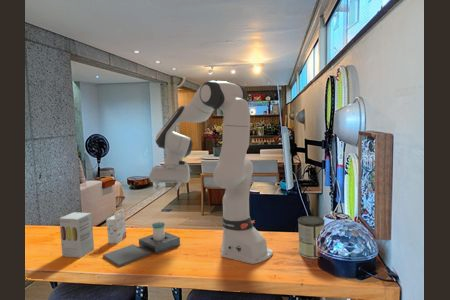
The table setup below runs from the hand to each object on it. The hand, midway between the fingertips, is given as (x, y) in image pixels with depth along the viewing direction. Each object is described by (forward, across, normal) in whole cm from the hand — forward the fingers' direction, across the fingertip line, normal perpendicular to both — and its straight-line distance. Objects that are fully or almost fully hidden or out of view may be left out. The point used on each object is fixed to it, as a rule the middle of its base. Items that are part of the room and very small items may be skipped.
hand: (166, 189), depth 150 cm
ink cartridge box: (+22, -23, +11) cm, 34 cm away
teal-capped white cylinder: (+25, 0, +8) cm, 26 cm away
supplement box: (+33, -33, +1) cm, 46 cm away
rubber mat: (+33, -10, 0) cm, 35 cm away
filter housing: (+25, 0, +8) cm, 26 cm away
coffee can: (+26, +66, +6) cm, 72 cm away
